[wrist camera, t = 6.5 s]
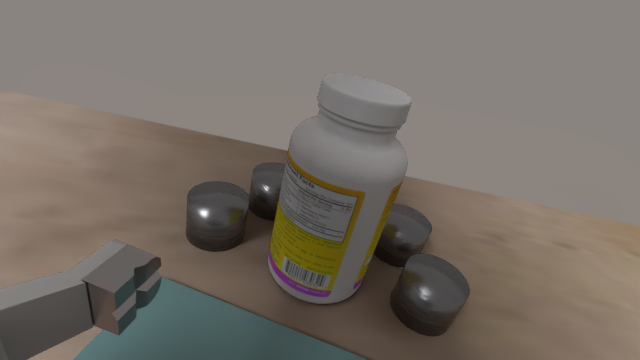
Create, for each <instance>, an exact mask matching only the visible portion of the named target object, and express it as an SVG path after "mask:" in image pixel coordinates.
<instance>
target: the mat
mask: <svg viewBox="0 0 640 360" xmlns="http://www.w3.org/2000/svg"><path fill="white" fill-rule="evenodd" d="M73 360H367V359H365V358H362V357H360V356H357V355H355V354H352V353H350V352H347V351H345V350H342V349H340V348H338V347H335V346H333V345H330V344H328V343H325V342H323V341H320V340H318V339H315V338H313V337H310V336H308V335H305V334H303V333H300V332H298V331H295V330H293V329H290V328H288V327H286V326H283V325H281V324H278V323H276V322H273V321H271V320H268V319H266V318H263V317H261V316H258V315H256V314H253V313H251V312H248V311H246V310H243V309H241V308H238V307H236V306H234V305H231V304H229V303H226V302H224V301H221V300H219V299H216V298H214V297H211V296H209V295H206V294H204V293H201V292H199V291H196V290H194V289H191V288H189V287H186V286H184V285H181V284H179V283H177V282H174V281H172V280H169V279H167V278H164V277H162V276H161V285H160V289H159V291H158V292H157V294H156V296H155V298H154V299H153V300H152V301H151V302H150V303H149V304H148V306H145V307H143V308H140V309H138V310H137V317H136V318H135V320H134V321H133V322H132V323H131V324H130V325H129V326H128V327H127V328H126V329H125V330H124V331H123V332H122V333H121V334H120V336H119V335H116V334H114V333H111V332H109V331H106V330H104V329H103V330H102V331H101V332H100V333H99V334H98V335H97V336H96V337H95V338H94V339H93V340H92V341H91V342H90V343H89V344H88V345H87V346H86V347H85V348H84V349H83V350H82V351H81V352H80V353H79V354H78V355H77V356H76V357H75V358H74V359H73Z"/></svg>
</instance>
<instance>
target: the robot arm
mask: <svg viewBox="0 0 640 360" xmlns="http://www.w3.org/2000/svg"><path fill="white" fill-rule="evenodd" d="M160 267H161V258H159V257H156V256H154V255H152V254H149V253H147V252H145V251H142V250H140V249H138V248H135V247H133V246H131V245H128V244H126V243H124V242H121V241H119V240H116V239H115V240H112V241H109V242H108V243H106V244H105V245H103V246H102V247H101V248H99V249H98V250H97V251H95V252H94V253H93V254H91V255H90V256H88V257H87V258H86V259H84V260H83V261H82V262H80V263H79V264H78V265H76V266H75V267H73V268H72V269H71V270H69V271H68V272H67V273H65V274H64V273H62V272H59V273H55V274H52V275H48V276H45V277H41V278H38V279H34V280H31V281H27V282H24V283H20V284H16V285H13V286H9V287H6V288H2V289H0V360H27V359H29V358H31V357H33V356H35V355H37V354H39V353H41V352H43V351H45V350H47V349H49V348H51V347H53V346H55V345H58V344H60V343H62V342H64V341H66V340H68V339H70V338H72V337H74V336H76V335H78V334H80V333H82V332H84V331H86V330H88V329H90V328H92V327H93V325H94V326H96V327H99V328H101V329H104V330H106V331H109V332H111V333H114V334H116V335H119V336H120V334H121V333H122V332H123V331H124V330H125V329H126V328H127V327H128V326H129V325H130V324H131V323H132V322H133V321H134V320H135V318H136V317H137V310H138V309H140V308H143V307H145V306H148V304H149V303H150V302H151V301H152V300H153V299H154V298H155V296H156V294H157V292H158V291H159V289H160V285H161V275H160V274H159V272H158V269H159V268H160Z"/></svg>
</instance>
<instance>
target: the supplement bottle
mask: <svg viewBox="0 0 640 360" xmlns="http://www.w3.org/2000/svg"><path fill="white" fill-rule="evenodd" d="M317 99H318V102H319V104H318V105H319V108H320V110H319V113H318V116H315V117H312V118H309V119H307V120H305V121H303V122H302V123H300V124H299V125H298V126H297V127H296V129H295V130H294V132H293V134H292V136H291V140H290V144H289V149H288V154H287V159H286V165H285V170H284V175H283V180H282V185H281V190H280V196H279V201H278V206H277V212H276V217H275V222H274V227H273V232H272V238H271V243H270V248H269V255H268V264H269V269H270V271H271V273H272V275H273V277H274V279H275V280H276V282H277V283H278V284H279V285H280V286H281V287H282V288H283V289H284V290H285V291H286V292H288V293H289V294H291V295H292V296H294V297H296V298H298V299H300V300H303V301H306V302H310V303H316V304H331V303H336V302H339V301H342V300H345V299H347V298H348V297H350V296H351V295H352V294H354V293H355V292H356V290H357V289H358V288H359V286H360V284H361V282H362V280H363V278H364V276H365V273H366V271H367V268H368V266H369V263H370V261H371V258H372V256H373V253H374V251H375V248H376V246H377V243H378V241H379V238H380V235H381V233H382V230H383V228H384V226H385V223H386V220H387V218H388V215H389V213H390V210H391V208H392V205H393V203H394V200H395V198H396V196H397V193H398V191H399V188H400V186H401V184H402V181H403V178H404V176H405V173H406V170H407V155H406V152H405V150H404V148H403V146H402V144H401V143H400V142H399V141H398V140H397V139H396V138H395V136H396V133H397V130H399V129H400V127H401V126H402V125H403V124H404V123H405V121H406V118H407V115H408V112H409V109H410V106H411V103H412V101H411V98H410V97H409V96H408V95H407V94H405V93H404V92H402V91H400V90H398V89H396V88H393V87H391V86H388V85H386V84H383V83H381V82H378V81H375V80H371V79H367V78H364V77H359V76H354V75H348V74H338V73H337V74H336V73H333V74H326V75H325V76H323V78H322V81H321V86H320V90H319V94H318V96H317Z"/></svg>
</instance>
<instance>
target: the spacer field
mask: <svg viewBox="0 0 640 360" xmlns="http://www.w3.org/2000/svg"><path fill="white" fill-rule="evenodd" d="M284 170H285V165H284V164H280V163H263V164H260V165H258V166H256V167H255V168H254V170H253V175H252V182H251V189H250V195H249V196H248V194H247V193H246V192H245V191H244V190H243V189H242V188H240V187H238V186H236V185H234V184H231V183H227V182H217V181H214V182H206V183H202V184H199V185H197V186H195V187H193V188H192V189H191V190H190V191H189V193H188V196H187V221H186V236H187V238H188V240H189V241H190V242H191V243H192V244H193V245H194V246H196V247H198V248H200V249H203V250H207V251H224V250H228V249H231V248H233V247H235V246H237V245H238V244H239V243H240V242H241V241H242V239H243V237H244V233H245V226H246V219H247V213H248V206H249V208H250V209H251V210H252V212H254V213H255V214H256V215H258V216H260V217H262V218H265V219H270V220H275V217H276V212H277V206H278V201H279V196H280V190H281V185H282V180H283V175H284ZM431 231H432V226H431V224H430V222H429V221H428V219H427V218H426V217H425V216H424V215H422V214H421V213H420V212H418V211H416V210H414V209H412V208H410V207H408V206H404V205H400V204H393V205H392V208H391V210H390V213H389V215H388V218H387V220H386V223H385V226H384V228H383V230H382V233H381V235H380V238H379V241H378V243H377V246H376V248H375V251H374V253H375V254H376V256H378V257H379V258H380V259H381V260H383V261H385V262H387V263H389V264H391V265H394V266H399V267H404V269H403V271H402V273H401V275H400V277H399V279H398V281H397V283H396V285H395V287H394V289H393V291H392V294H391V299H390V301H391V306H392V308H393V311H394V312H395V314H396V315H397V317H398V318H399V319H400V320H401V321H402V322H403V323H404V324H405V325H406V326H407V327H409V328H410V329H412V330H414V331H415V332H418V333H420V334H423V335H427V336H437V335H441V334H443V333H444V332H445V331H446V330H447V329H448V327H449V326H450V324H451V323H452V321H453V319H454V318H455V316H456V315H457V313H458V312H459V310H460V309H461V307H462V306H463V304H464V303H465V301H466V300H467V298H468V297H469V293H470V289H469V285H468V282H467V281H466V279H465V277H464V276H463V275H462V274H461V272H460V271H459V270H458V269H456V268H455V267H454V266H453V265H451V264H450V263H448V262H447V261H445V260H443V259H441V258H439V257H436V256H433V255H429V254H420V253H421V251H422V249H423V247H424V245H425V243H426V241H427V239H428V237H429V235H430V233H431Z"/></svg>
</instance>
